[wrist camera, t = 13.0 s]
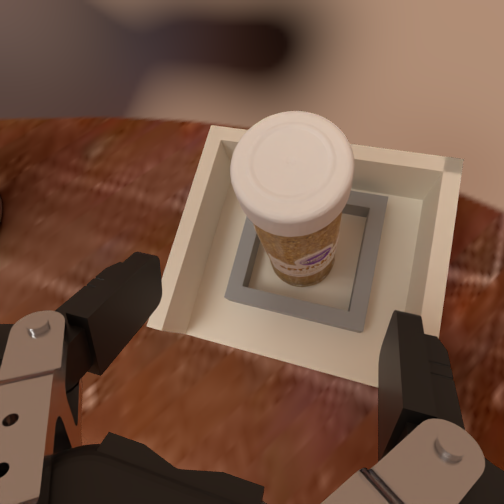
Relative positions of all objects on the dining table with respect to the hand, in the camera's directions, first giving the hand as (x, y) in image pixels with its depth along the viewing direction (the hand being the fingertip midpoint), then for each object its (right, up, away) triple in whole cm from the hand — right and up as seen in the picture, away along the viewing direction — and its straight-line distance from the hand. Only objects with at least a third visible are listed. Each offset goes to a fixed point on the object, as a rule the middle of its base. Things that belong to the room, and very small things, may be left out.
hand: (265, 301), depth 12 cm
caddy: (+3, +1, +14) cm, 14 cm away
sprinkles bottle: (+3, +1, +14) cm, 14 cm away
